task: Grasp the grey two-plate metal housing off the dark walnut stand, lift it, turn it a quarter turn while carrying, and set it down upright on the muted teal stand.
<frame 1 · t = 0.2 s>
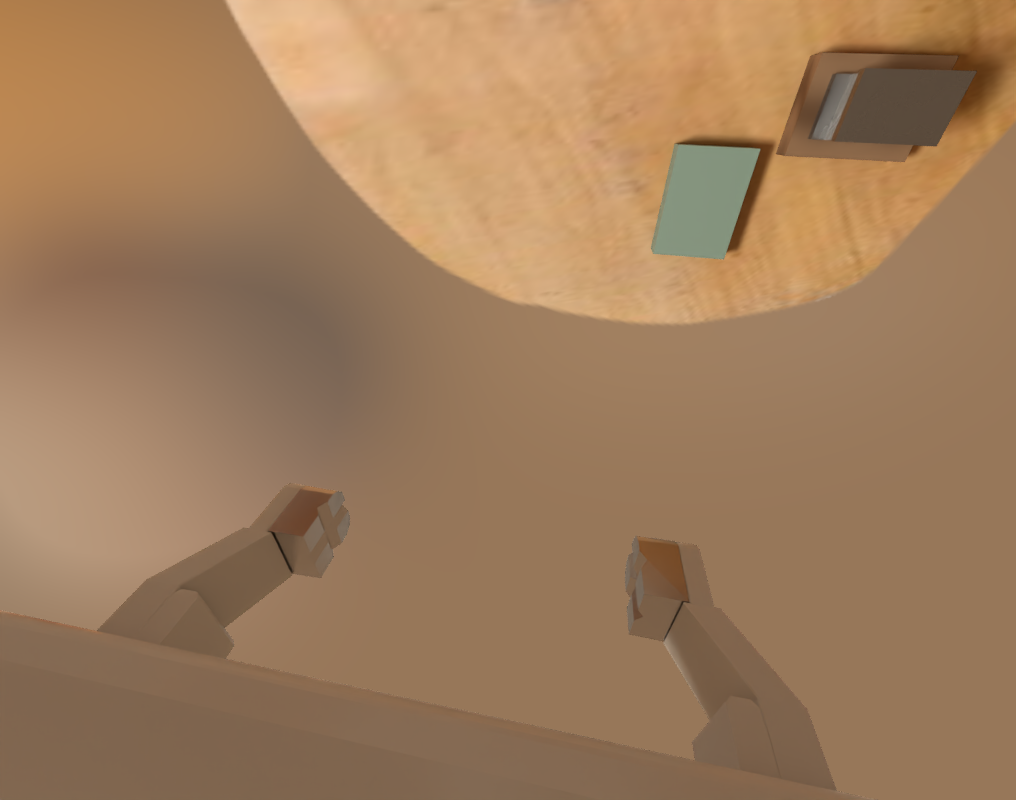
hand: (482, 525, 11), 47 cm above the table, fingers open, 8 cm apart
housing: (865, 109, 38), point 2 cm above the table, touching stand a
stand b: (697, 201, 47), on the table
stand a: (851, 110, 40), on the table
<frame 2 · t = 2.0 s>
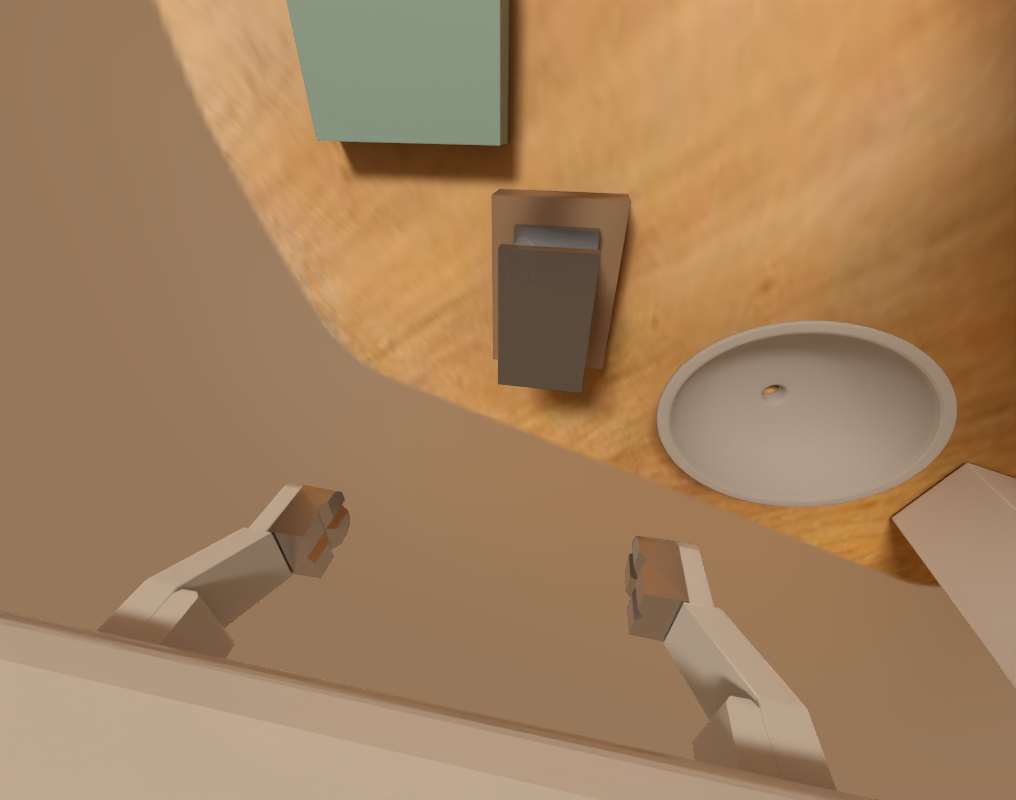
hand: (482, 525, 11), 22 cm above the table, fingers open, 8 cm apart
housing: (552, 290, 27), point 2 cm above the table, touching stand a
dish: (768, 385, 31), on the table
milk carton: (963, 501, 33), on the table
stand b: (412, 56, 23), on the table
stand a: (555, 278, 29), on the table
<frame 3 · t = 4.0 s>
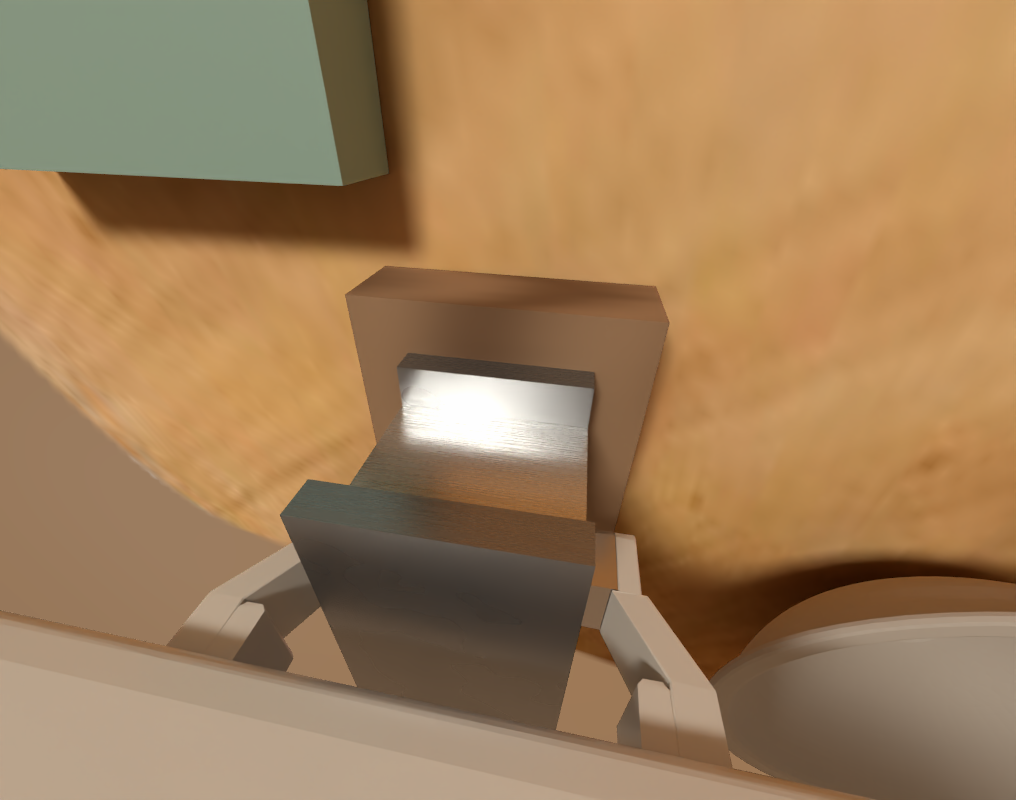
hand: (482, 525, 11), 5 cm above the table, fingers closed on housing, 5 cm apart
housing: (497, 471, 13), point 2 cm above the table, touching gripper, stand a
dish: (893, 598, 17), on the table
stand a: (510, 423, 15), on the table
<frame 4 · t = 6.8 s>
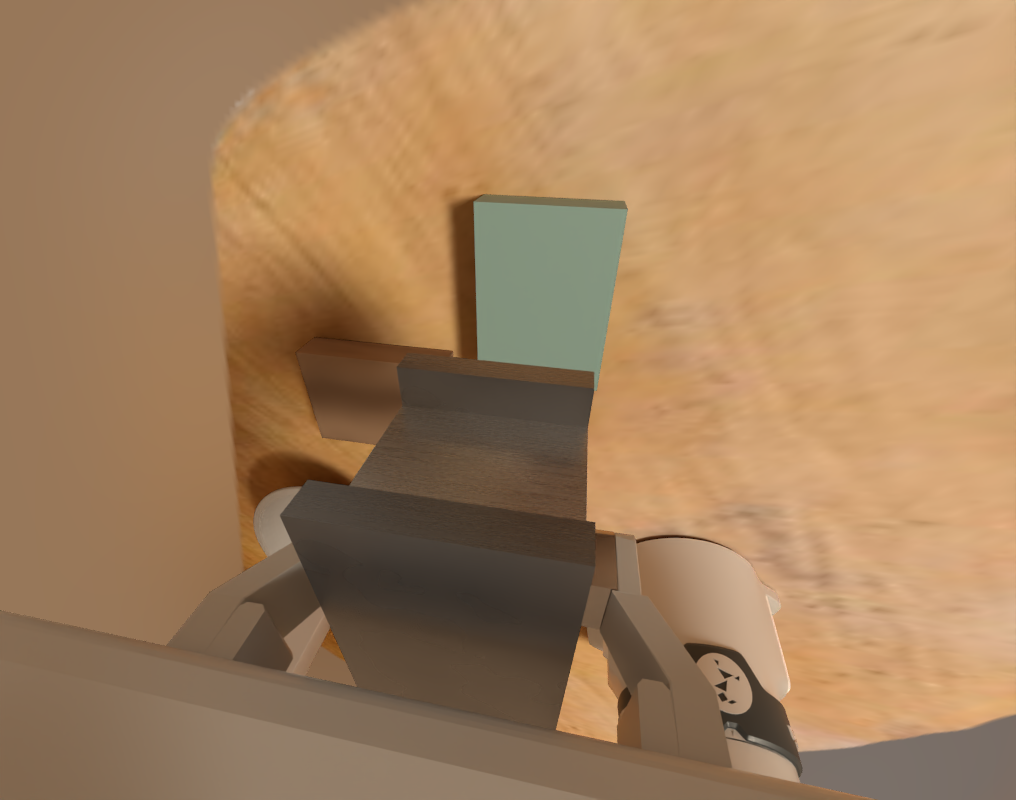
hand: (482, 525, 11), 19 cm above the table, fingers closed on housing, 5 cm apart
housing: (497, 471, 13), point 16 cm above the table, touching gripper
dish: (351, 509, 44), on the table
milk carton: (315, 589, 55), on the table
stand b: (545, 291, 26), on the table
stand a: (389, 388, 33), on the table
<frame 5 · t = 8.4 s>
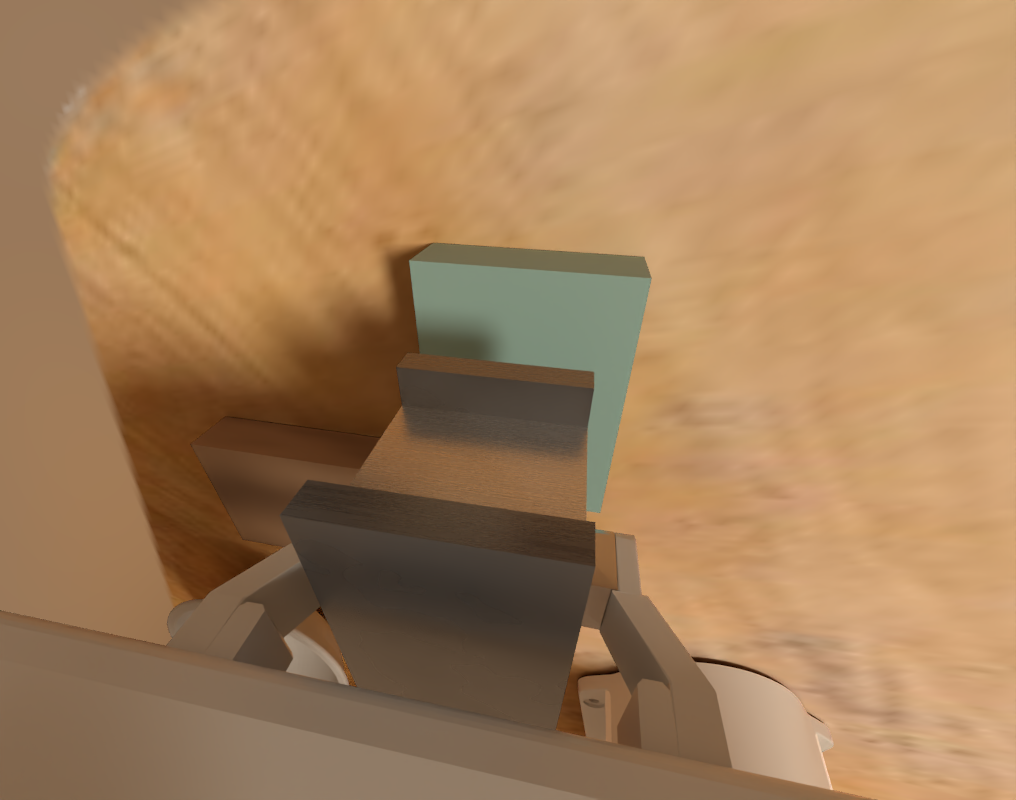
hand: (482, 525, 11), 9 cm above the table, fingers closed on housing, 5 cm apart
housing: (497, 471, 13), point 7 cm above the table, touching gripper
dish: (299, 601, 36), on the table
stand b: (528, 375, 18), on the table
stand a: (328, 479, 25), on the table
when the fingers open (6 cm above the table, at t = 9.5 s): housing stays where it is, resting on stand b.
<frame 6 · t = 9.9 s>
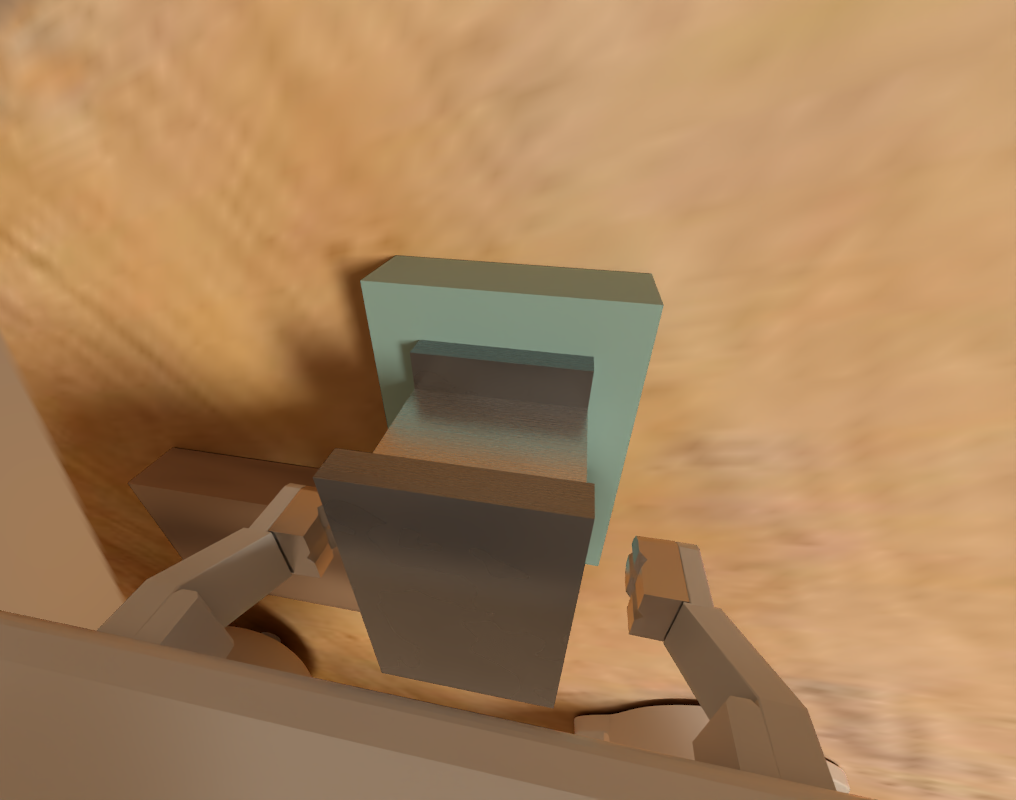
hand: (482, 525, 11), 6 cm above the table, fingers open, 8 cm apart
housing: (502, 453, 14), point 2 cm above the table, touching stand b
dish: (272, 634, 33), on the table
stand b: (513, 407, 16), on the table
stand a: (293, 515, 22), on the table
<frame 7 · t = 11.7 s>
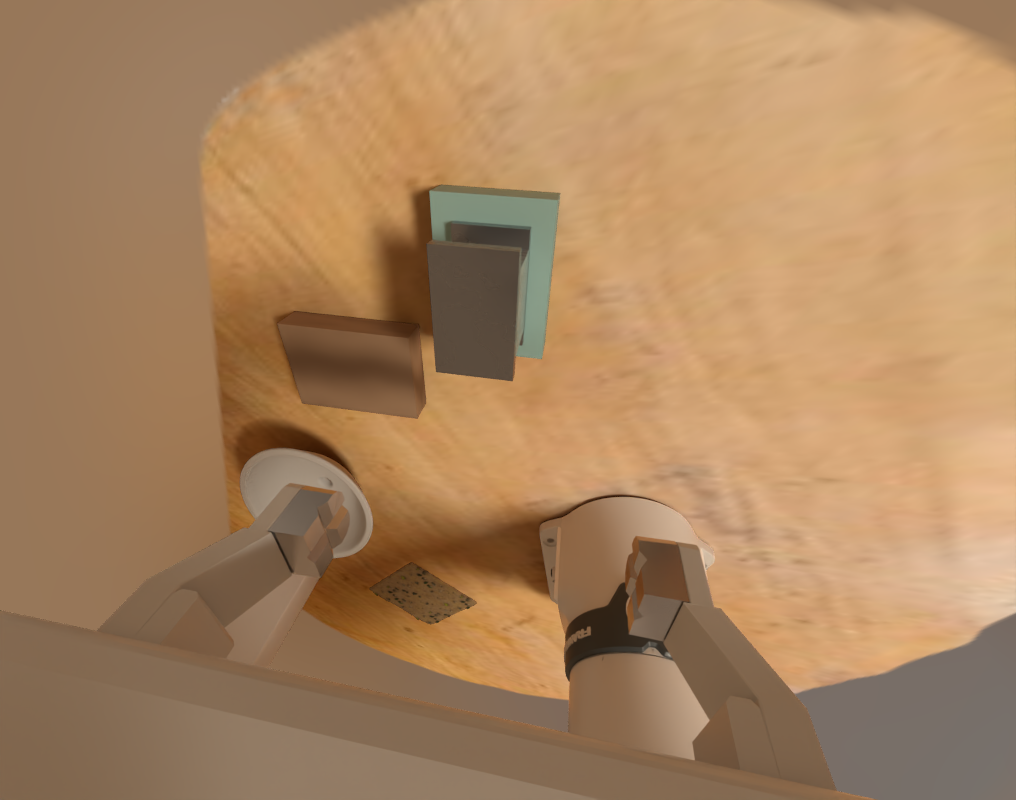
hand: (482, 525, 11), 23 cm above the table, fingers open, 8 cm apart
speckled grey square slab: (423, 591, 60), on the table
housing: (491, 284, 28), point 2 cm above the table, touching stand b
dish: (331, 474, 47), on the table
milk carton: (298, 553, 59), on the table
stand b: (497, 271, 30), on the table
stand a: (363, 359, 37), on the table
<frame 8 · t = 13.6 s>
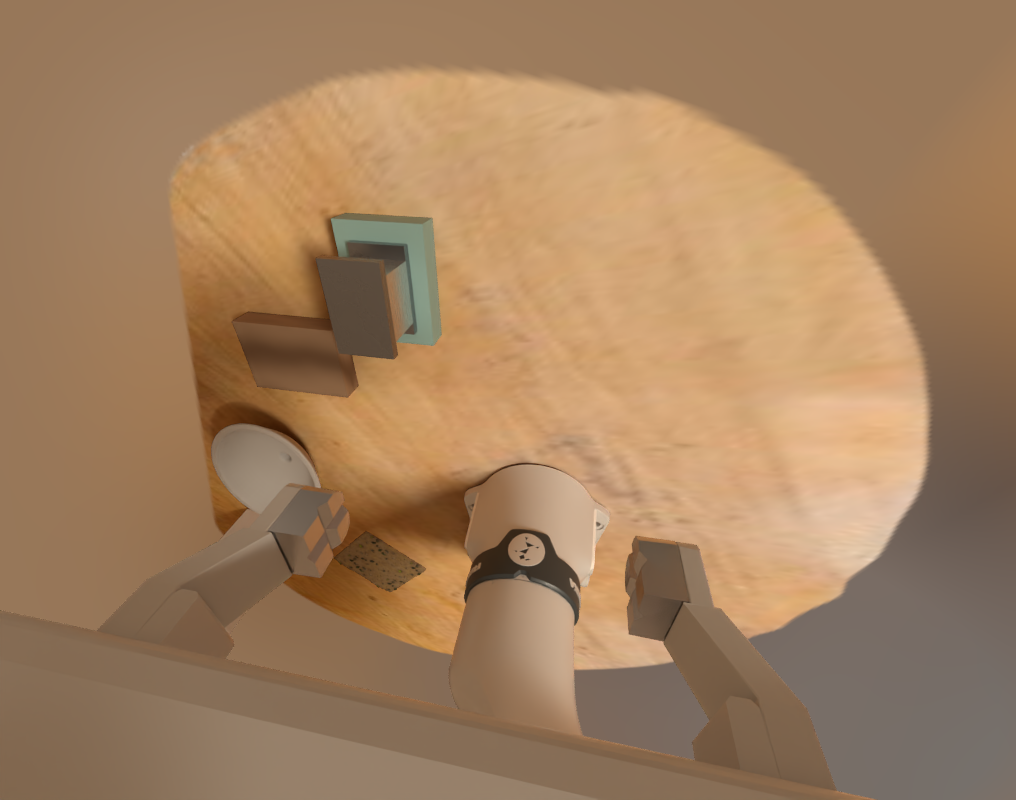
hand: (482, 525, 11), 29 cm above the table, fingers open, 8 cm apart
speckled grey square slab: (380, 560, 68), on the table
housing: (386, 288, 37), point 2 cm above the table, touching stand b
dish: (291, 451, 56), on the table
milk carton: (271, 526, 67), on the table
stand b: (396, 277, 39), on the table
stand a: (305, 349, 46), on the table
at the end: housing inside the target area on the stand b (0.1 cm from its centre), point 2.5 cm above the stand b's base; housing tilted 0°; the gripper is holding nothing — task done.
